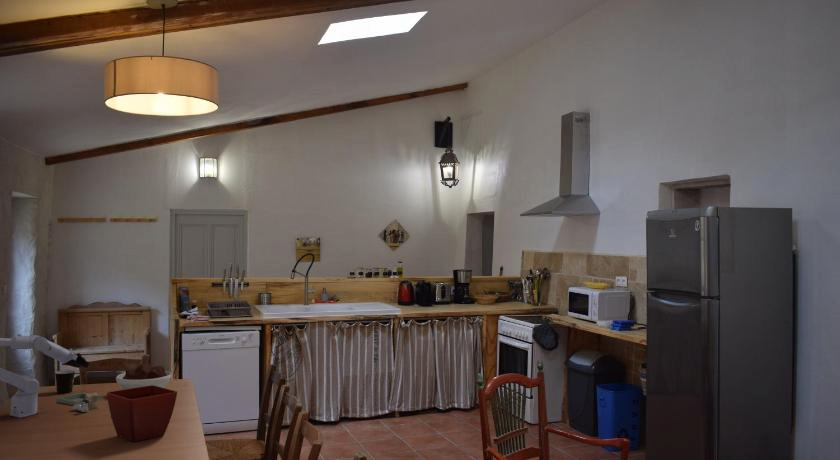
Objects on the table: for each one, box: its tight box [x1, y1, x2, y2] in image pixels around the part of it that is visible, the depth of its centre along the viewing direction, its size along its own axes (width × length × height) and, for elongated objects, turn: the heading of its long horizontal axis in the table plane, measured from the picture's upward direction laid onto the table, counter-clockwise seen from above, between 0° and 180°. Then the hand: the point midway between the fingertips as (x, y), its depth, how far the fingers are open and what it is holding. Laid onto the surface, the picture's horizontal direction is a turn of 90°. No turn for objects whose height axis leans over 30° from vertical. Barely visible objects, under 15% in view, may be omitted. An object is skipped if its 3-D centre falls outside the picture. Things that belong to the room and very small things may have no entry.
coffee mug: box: [54, 369, 76, 395], centre depth 327 cm, size 12×9×10 cm
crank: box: [72, 399, 89, 413], centre depth 287 cm, size 10×4×5 cm, turn 53°
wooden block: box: [86, 392, 100, 411], centre depth 293 cm, size 4×4×6 cm
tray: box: [56, 392, 102, 406], centre depth 306 cm, size 13×13×2 cm
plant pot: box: [106, 385, 178, 442], centre depth 255 cm, size 19×19×17 cm
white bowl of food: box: [115, 363, 172, 390], centre depth 323 cm, size 25×25×15 cm
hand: (83, 365), depth 301 cm, fingers open, 7 cm apart
